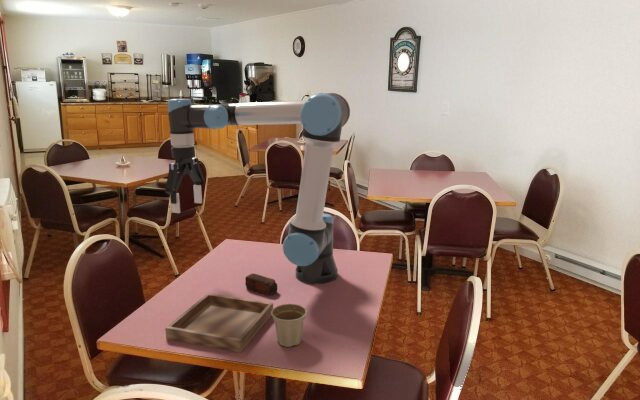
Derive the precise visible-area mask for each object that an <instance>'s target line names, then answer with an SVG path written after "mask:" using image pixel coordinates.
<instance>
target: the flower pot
mask: <svg viewBox="0 0 640 400" xmlns="http://www.w3.org/2000/svg"><path fill="white" fill-rule="evenodd" d="M307 313H308V310H307V309H306V307H305V306H303V305H301V304H296V303H284V304H280V305H277V306H275V307H273V310H272V311H271V317H272V320H273V321H274V326H275V331H276V338H277V342H278V344H279V345H280V346H282V347H286V348H290V347H291V348H292V347H293V346H299V344H300V343H301V341H302V335H303V329H304V328H303V327H304V321H305V319H306V316H307Z"/></svg>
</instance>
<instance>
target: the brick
mask: <svg viewBox="0 0 640 400" xmlns="http://www.w3.org/2000/svg"><path fill="white" fill-rule="evenodd" d="M244 279H245V281H244V282H245V288H246V289H247V290H249V291H253V292H255V293H259V294H262V295H265V296H269V297H270V296H272V295H273V294H276V293H277V292H278V283H277V282H276V280H275V279H274V278H270V277H267V276H263V275H260V274H258V273H250V274H248V275H247V276H245V278H244Z"/></svg>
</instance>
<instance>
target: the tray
mask: <svg viewBox="0 0 640 400" xmlns="http://www.w3.org/2000/svg"><path fill="white" fill-rule="evenodd" d="M273 308H274V302H269V301H268V302H267V301H262V300H255V299H249V298H241V297H235V296H228V295H221V294H214V293H209V292H208V293H206V294H205V295H204V296H202V297H200V299H199V300H197V301H196V302H195V303H194V304H193V305H192V306H190V307H189V308H188V309H187V310H185V311H184V312H183V313H182V314H181V315H179V316H178V317H176V318H175V319H174V320H173V321H171V322H170V323H169V324H168V325H167V326H166V327H165V329H164V330H165V338H166V340H172V341H176V342H182V343H186V344H187V343H188V344H192V345H198V346H204V347H208V348H214V349H220V350H225V351H229V352H235V353H242V351H243V350H244V349H245V348H246V347H247V346H248V344H249V343H250V342H251V340H253V338H254V337H255V336H256V335H257V333H258V332H259V331H260V330H261V329H262V327H264V325H265V324H266V323H267V322H268V320H269V319H270V318H271V317H272V315H271V311H272V310H273Z"/></svg>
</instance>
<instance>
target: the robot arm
mask: <svg viewBox="0 0 640 400" xmlns="http://www.w3.org/2000/svg"><path fill="white" fill-rule="evenodd" d="M350 114H351V108H350V105H349V102H348V100H347V99H346V98H345V97H344V96H342V95H341V94H338V93H333V92H329V93H327V92H326V93H325V92H320V93H317V94H314V95H312V96H310V97H308V98H307V99H306V100H305V99H304V100H285V101H283V100H282V101H281V100H280V101H262V102H261V101H260V102H259V101H257V102H238V103H237V102H236V103H235V102H234V103H232V102H227V103H217V104H193V103H192V100H191V99H190V98H171V99H170V98H169V100H168V101H167V115H168V116H167V117H168V123H169V134H170V145H171V157H172V158H173V159H174V160H175V161H174V162H173V163H172V162H169V163H168V173H167V179H166V184H165V188H164V189H165V190H164V193H165V194H169V197H170V198H169V199H170V204H171V205H170V206H171V213H172V214H180V213H181V203H180V193H179V192H178V191H179V189H180V186H181V183H182V180H183V177H185V175H187V174H188V176H189V177H190V179H191V180H192V182H193V185H192V186H193V198H194V201H193V203H194V204H203V196H202V195H203V194H202V192H203V191H202V185H203V186H204V185H205V177H204V175H203V174H204V173H203V172H202V169H201V167H200V162H199V158H198V157H196V148H195V146H194V145H195V136H194V129H206V130H207V129H210V130H220V129H224V128H225V127H226V126H227V127H228V126H255V125H256V126H257V125H265V126H266V125H301V124H302V134H301V137H302V138H303V140H304V141H305V148H304V154H303V163H302V167H301V174H300V175H301V176H300V184H299V190H298V197H297V203H296V204H297V205H296V210H295V211H296V212H295V215H294V216H293V217H292V218H291V219H290V220H289V228H288V233H287V234H288V235H287V236H286V237H285V238H284V240H283V243H282V251H283V254H284V257H285V258H286V259H287V261H288V262H290V263H291V264H293V265H295V266H296V267H295V278H296V279H297V280H298V281H301V282H303V283H307V284H312V285H313V284H317V285H318V284H319V285H320V284H327V283H330V282H332V281H335V280H336V279H337V278H338V267H337V263H336V261H335V258H334V224H335V223H334V218H333V217H334V216H333V215H331V214H329V213H326V212H325V213H324V210H325V204H326V198H327V191H328V186H329V178H330V172H331V165H332V161H333V153H334V148H335V146H336V145H337V144H339V143H340V141H341V136H342V130H343V129H342V128H343V127H344V126H345V125H346V124H347V123H348V121H349V119H350V116H351V115H350Z"/></svg>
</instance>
